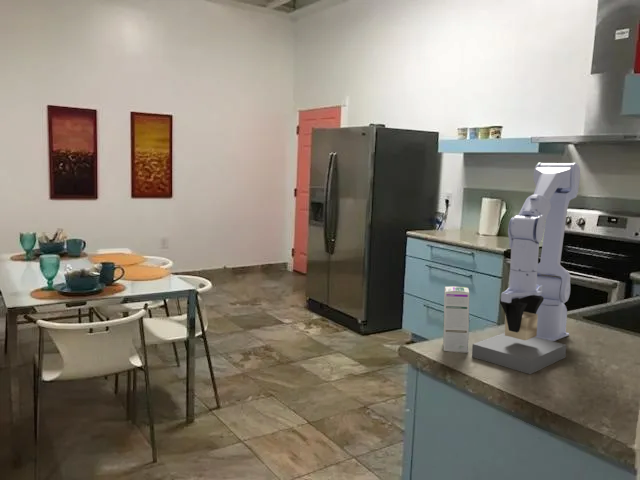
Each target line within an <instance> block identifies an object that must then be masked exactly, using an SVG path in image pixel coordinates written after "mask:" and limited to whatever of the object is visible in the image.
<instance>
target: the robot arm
mask: <svg viewBox="0 0 640 480" xmlns="http://www.w3.org/2000/svg"><path fill="white" fill-rule="evenodd" d="M580 180H581V167H580V165H579V164H578V163H577V162H558V163H557V162H541V161H540V162H538V163H537V164H536V165H535V166H534V170H533V182H534V185H535V188H534V192H533V194H531V195H528V197H526V199H525V201H524V202H523V204H522V207H521V208H520V211H519V212H518V214H517V215H515V216H513V217H511V218H510V220H509V222H508V227H507V228H508V229H507V234H508V235H507V236H508V247H509V249H510V265H509V266H510V267H509V284H508V285H509V286H508V288H507V289H506V290H504V291H502V292H501V294H500V298H499V302H500V303H499V304H500V305H501V307H502V309H503V311H504V314H505V320H506V319H507V323H508V328H509V331H513V332H519V330H520V326H521V320H522V315H523V312H529V313H534V314H538V321H537V336H535V337H537V338H541V339H545V340H549V341H553V342H557V341H558V340H561V339H563V338H565V337H568V336H569V335H570V333H569V332H566V331H567V321H568V320H567V318H568V309H567V306H566V305H565V303H566V302H568V301H569V298H570V295H571V274H570V272H569V271H568V270H567V269H566V268H564V266H562V265H561V262H562V261H561V260H562V252H563V243H564V237H565V229H566V222H567V221H566V220H567V213H568V209H569V208H568V207H569V204H570V201H571V200H574V199H576V198H577V197H578V194H579V189H580V188H579V187H580ZM541 242H542V247H541V252H540V253H541V254H540V259H539V250H540V249H539V248H540V243H541ZM539 260H540V262H539Z"/></svg>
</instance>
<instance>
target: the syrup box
mask: <svg viewBox="0 0 640 480" xmlns="http://www.w3.org/2000/svg"><path fill="white" fill-rule="evenodd" d="M470 294H471V293H470V290H469V287H466V286H458V285H457V286H453V285H452V286H444V295H443V332H442V333H443V335H442V340H443V341H442V342H443V343H442V344H443V345H442V346H443V349H442V350H443V351H445V352H450V353H465V354H466V353H468V352H469V336H470V335H469V334H470V333H469V331H470V296H471V295H470Z"/></svg>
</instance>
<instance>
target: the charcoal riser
mask: <svg viewBox="0 0 640 480" xmlns="http://www.w3.org/2000/svg"><path fill="white" fill-rule="evenodd" d="M471 351H472V352H471V354H472V355H471V357H472V358H474V359H475V358H476V359H479V360H481V361H486V362H488V363H492V364H493V365H494V364H495V365H499V366H502V367H504V368H508V369H511V370H515V371H518V372H522V373H525V374H528V375H532V374H534V373H535V372H538V371H540V370H542V369H544V368H546V367H548V366H550V365H553V364H555V363H556V362H557V363H558V361H561V360H564V359H565V358H566V355H567V344H564V343H561V342H557V341H549V340H545V339H541V338H537V337H533V338H531V339H528V340H526V341H525V340H521V339H517V338H513V337H509V336H505V332H502V333H500V334H496V335H494V336H490V337H489V338H486V339H483V340H481V341H477V342H475V343H472V349H471Z"/></svg>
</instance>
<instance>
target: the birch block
mask: <svg viewBox="0 0 640 480" xmlns="http://www.w3.org/2000/svg"><path fill="white" fill-rule="evenodd" d="M537 321H538V314H534V313H529V312H523V315H522V320H521V326H520V330H519V332H513V331H509V328H508V323H507V319H506V318H505V321H504V322H505V323H504V324H505V326H504V333H505V336H509V337H513V338H517V339H521V340H525V341H526V340H528V339H531V338H533V337H535V336H537Z"/></svg>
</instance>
